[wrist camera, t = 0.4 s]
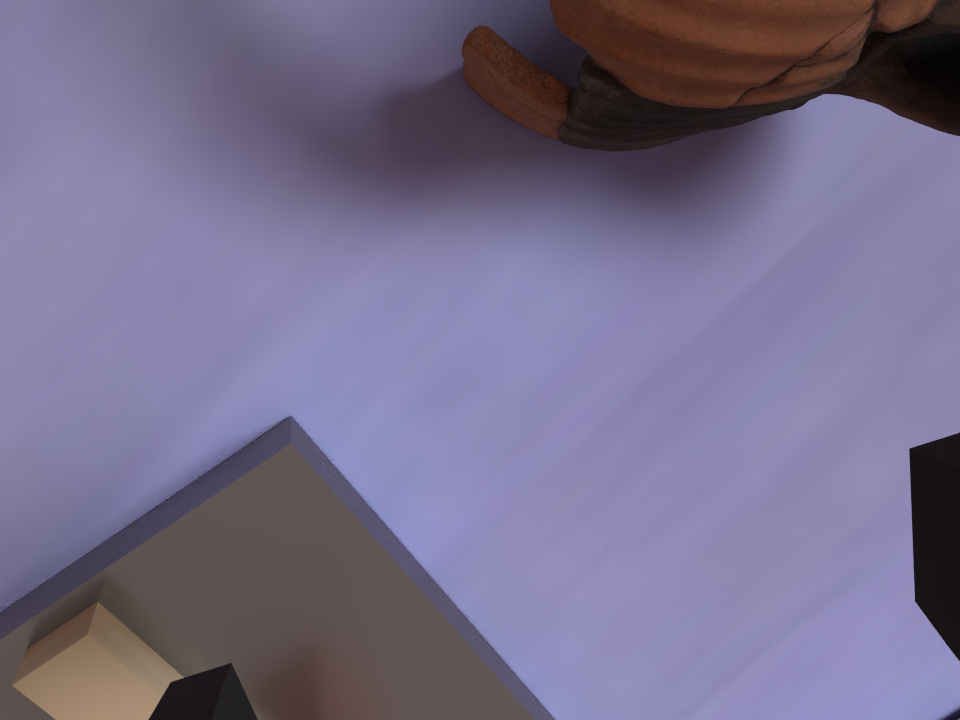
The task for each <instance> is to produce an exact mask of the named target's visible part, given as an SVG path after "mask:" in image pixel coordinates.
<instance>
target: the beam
mask: <svg viewBox="0 0 960 720" xmlns="http://www.w3.org/2000/svg"><path fill="white" fill-rule="evenodd" d="M182 678H184V677H183V676H182V675H181V674H180V673H178V672H177V671H176V670H175V669H174V668H173V667H172V666H170V665H169V664H168V663H167V662H166V661H165V660H164V659H162V658H161V657H160V656H159V655H158V654H157V653H156V652H155V651H153V650H152V649H151V648H150V647H149V646H148V645H147V644H145V643H144V642H143V641H142V640H141V639H140V638H139V637H138V636H136V635H135V634H134V633H133V632H132V631H131V630H130V629H128V628H127V627H126V626H125V625H124V624H123V623H122V622H120V621H119V620H118V619H117V618H116V617H115V616H114V615H113V614H111V613H110V612H109V611H108V610H107V609H106V608H105V607H103V606H102V605H101V604H100V603H99V602H96V603H95V604H93V605H92V606H91V607H89V608H88V609H86V610H85V611H83V612H82V613H80V614H79V615H77V616H76V617H74V618H73V619H71V620H70V621H68V622H67V623H65V624H64V625H62V626H61V627H59V628H58V629H56V630H55V631H53V632H52V633H50V634H49V635H47V636H46V637H44V638H43V639H41V640H40V641H38V642H37V643H35V644H34V645H33V646H31V647H30V648H28V649H27V650H26V651H25V654H24V656H23V659H22V661H21V664H20V666H19V669H18V671H17V674H16V676H15V679H14V681H13V684H12V686H13V687H15V688H16V689H17V690H18V691H20V692H21V693H22V694H24V695H25V696H26V697H27V698H29V699H30V700H31V701H33V702H34V703H35V704H36V705H38V706H39V707H40V708H42V709H43V710H44V711H45V712H47V713H48V714H49V715H51V716H52V717H53V718H54V719H56V720H149V718H150V716H151V714H152V713H153V711H154V709H155V708H156V706H157V704H158V703H159V701H160V699H161V698H162V696H163V694H164V693H165V691H166V689H167V687H168V686H169V684H170V682H172V681H175V680H179V679H182Z"/></svg>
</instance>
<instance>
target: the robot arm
mask: <svg viewBox="0 0 960 720" xmlns="http://www.w3.org/2000/svg"><path fill="white" fill-rule="evenodd" d="M909 450H910V477H911V503H912V529H913V556H914V582H915V602H916V603H917V604H918V606H919V607H920V609H921V610H922V611H923V613H924V614H925V615H926V617H927V618H928V619H929V621H930V622H931V624H932V625H933V626H934V628H935V629H936V630H937V632H938V633H939V634H940V636H941V637H942V639H943V640H944V641H945V643H946V644H947V645H948V647H949V648H950V649H951V651H952V652H953V653H954V654H955V656H956V657H957V658H958V660H959V661H960V433H958V434H955V435H951V436H948V437H945V438H942V439H939V440H936V441H932V442H929V443H926V444H923V445H920V446H917V447H913V448H910V449H909ZM149 720H258V719H257V717H256V715H255V712H254V710H253V708H252V706H251V704H250V702H249V699H248V697H247V695H246V693H245V691H244V689H243V687H242V684H241V682H240V680H239V678H238V676H237V674H236V672H235V669H234V667H233V665H232V663H229V664H226V665H223V666H220V667H217V668H213V669H210V670H207V671H204V672H201V673H198V674H194V675H191V676H188V677H185V678H182V679H179V680H175V681H172V682H170V684H169V686H168V687H167V689H166V691H165V693H164V694H163V696H162V698H161V699H160V701H159V703H158V704H157V706H156V708H155V709H154V711H153V713H152V714H151V716H150V718H149ZM957 720H960V718H959V719H957Z"/></svg>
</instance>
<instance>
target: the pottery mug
mask: <svg viewBox="0 0 960 720" xmlns="http://www.w3.org/2000/svg"><path fill="white" fill-rule="evenodd" d="M550 8H551V11H552V13H553V16H554V21H555V24H556V26H557V28H558V29H559V31H561V32H562V33H563V34H564V35H565V36H566V37H568V38H569V39H570V40H572V41H573V42H574V43H576V44H577V45H578V46H579V47H581V48H583V49H584V50H586V51H587V52H588V55H587V57H586V58H585V60H584V61H583V63H582V65H581V67H580V70H579V83H578V87H576V88H571V87H569V86H567V85H566V84H564V83H562V82H561V81H560V80H558V79H556V78H555V77H553V76H552V75H550V74H548V73H546V72H545V71H543V70H542V69H540V68H539V67H538V66H536V65H535V64H533V63H532V62H530V61H529V60H527V59H526V58H525V57H524V56H522V55H521V54H520V53H519V52H518V51H517V50H515V49H514V48H513V47H511V46H510V45H509V44H508V43H507V42H506V41H504V40H503V39H502V38H501V37H500V36H498V35H497V34H496V33H495V32H494V31H493V30H491V29H490V28H488V27H486V26H479V27H476V28H474V29H473V30H472V31H471V32H470V33H469V35H468V36H467V38H466V39H465V41H464V43H463V47H462V56H463V58H464V64H463V65H464V69H463V73H464V77H465V79H466V81H467V83H468V84H469V86H470V87H471V88H472V89H473V90H474V91H476V92H477V93H478V94H479V95H480V96H481V97H482V98H483V99H484V100H485V101H486V102H488V103H489V104H490V105H491V106H492V107H494V108H495V109H497V110H498V111H499V112H501V113H502V114H504V115H505V116H507V117H509V118H510V119H512V120H513V121H515V122H516V123H518V124H520V125H522V126H524V127H526V128H528V129H531V130H533V131H535V132H537V133H540V134H542V135H544V136H546V137H549V138H554V139H557V140H559V141H561V142H563V143H564V144H568V145H572V146H576V147H581V148H586V149H595V150H605V151H630V150H638V149H647V148H652V147H656V146H660V145H664V144H668V143H671V142H673V141H676V140H679V139H682V138H685V137H687V136H690V135H694V134H698V133H701V132H705V131H709V130H715V129H721V128H726V127H732V126H735V125H739V124H743V123H746V122H749V121H752V120H754V119H757V118H759V117H762V116H768V115H772V114H775V113H779V112H782V111H785V110H793V109H796V108H799V107H801V106H803V105H804V104H805V103H806V102H807V101H809V100H811V99H814V98H816V97H818V96H820V95H822V94H840V95H846V96H851V97H854V98H857V99H863V100H866V101H868V102H872V103H876V104H879V105H881V106H883V107H885V108H887V109H889V110H891V111H892V112H894V113H896V114H897V115H899V116H902V117H905V118H907V119H910V120H913V121H915V122H917V123H920V124H922V125H925V126H928V127H931V128H933V129H936V130H938V131H942V132H945V133H948V134H952V135H957V136H960V0H550Z"/></svg>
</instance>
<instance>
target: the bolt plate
mask: <svg viewBox="0 0 960 720" xmlns="http://www.w3.org/2000/svg"><path fill="white" fill-rule="evenodd" d="M96 602H99V603H100V604H101V605H102V606H103V607H105V608H106V609H107V610H108V611H109V612H110V613H111V614H113V615H114V616H115V617H116V618H117V619H118V620H119V621H120V622H122V623H123V624H124V625H125V626H126V627H127V628H128V629H130V630H131V631H132V632H133V633H134V634H135V635H136V636H138V637H139V638H140V639H141V640H142V641H143V642H144V643H145V644H147V645H148V646H149V647H150V648H151V649H152V650H153V651H155V652H156V653H157V654H158V655H159V656H160V657H161V658H162V659H164V660H165V661H166V662H167V663H168V664H169V665H170V666H172V667H173V668H174V669H175V670H176V671H177V672H178V673H180V674H181V675H182V676H183V677H184V678H185V677H188V676H191V675H194V674H198V673H201V672H204V671H207V670H210V669H213V668H217V667H220V666H223V665H226V664H229V663H232V665H233V667H234V669H235V672H236V674H237V676H238V678H239V680H240V682H241V684H242V687H243V689H244V691H245V693H246V695H247V697H248V699H249V702H250V704H251V706H252V708H253V710H254V712H255V715H256V717H257V719H258V720H555V719H554V718H553V717H552V716H551V715H550V713H549V712H548V711H547V710H546V709H545V708H544V707H543V705H542V704H541V703H540V702H539V701H538V700H537V698H536V697H535V696H534V695H533V694H532V693H531V692H530V690H529V689H528V688H527V687H526V686H525V685H524V684H523V682H522V681H521V680H520V679H519V678H518V677H517V675H516V674H515V673H514V672H513V671H512V670H511V669H510V667H509V666H508V665H507V664H506V663H505V662H504V661H503V659H502V658H501V657H500V656H499V655H498V654H497V652H496V651H495V650H494V649H493V648H492V647H491V646H490V644H489V643H488V642H487V641H486V640H485V639H484V637H483V636H482V635H481V634H480V633H479V632H478V631H477V629H476V628H475V627H474V626H473V625H472V624H471V623H470V621H469V620H468V619H467V618H466V617H465V616H464V614H463V613H462V612H461V611H460V610H459V609H458V608H457V606H456V605H455V604H454V603H453V602H452V601H451V599H450V598H449V597H448V596H447V595H446V594H445V593H444V591H443V590H442V589H441V588H440V587H439V586H438V585H437V583H436V582H435V581H434V580H433V579H432V578H431V576H430V575H429V574H428V573H427V572H426V571H425V570H424V568H423V567H422V566H421V565H420V564H419V563H418V561H417V560H416V559H415V558H414V557H413V556H412V555H411V553H410V552H409V551H408V550H407V549H406V548H405V547H404V545H403V544H402V543H401V542H400V541H399V540H398V538H397V537H396V536H395V535H394V534H393V533H392V532H391V530H390V529H389V528H388V527H387V526H386V525H385V523H384V522H383V521H382V520H381V519H380V518H379V517H378V515H377V514H376V513H375V512H374V511H373V510H372V509H371V507H370V506H369V505H368V504H367V503H366V502H365V500H364V499H363V498H362V497H361V496H360V495H359V494H358V492H357V491H356V490H355V489H354V488H353V487H352V486H351V484H350V483H349V482H348V481H347V480H346V479H345V477H344V476H343V475H342V474H341V473H340V472H339V471H338V469H337V468H336V467H335V466H334V465H333V464H332V462H331V461H330V460H329V459H328V458H327V457H326V456H325V454H324V453H323V452H322V451H321V450H320V449H319V448H318V446H317V445H316V444H315V443H314V442H313V441H312V439H311V438H310V437H309V436H308V435H307V434H306V433H305V431H304V430H303V429H302V428H301V427H300V426H299V424H298V423H297V422H296V421H295V420H294V419H293V418H292V416H290V417H289V418H287V419H286V420H284V421H283V422H281V423H280V424H278V425H277V426H275V427H274V428H272V429H271V430H270V431H268V432H267V433H265V434H264V435H262V436H261V437H259V438H258V439H256V440H255V441H253V442H252V443H250V444H249V445H247V446H246V447H244V448H243V449H241V450H240V451H239V452H237V453H236V454H234V455H233V456H231V457H230V458H228V459H227V460H225V461H224V462H222V463H221V464H219V465H218V466H216V467H215V468H213V469H212V470H211V471H209V472H208V473H206V474H205V475H203V476H202V477H200V478H199V479H197V480H196V481H194V482H193V483H191V484H190V485H188V486H187V487H185V488H184V489H182V490H181V491H180V492H178V493H177V494H175V495H174V496H172V497H171V498H169V499H168V500H166V501H165V502H163V503H162V504H160V505H159V506H157V507H156V508H154V509H153V510H151V511H150V512H149V513H147V514H146V515H144V516H143V517H141V518H140V519H138V520H137V521H135V522H134V523H132V524H131V525H129V526H128V527H126V528H125V529H123V530H122V531H120V532H119V533H118V534H116V535H115V536H113V537H112V538H110V539H109V540H107V541H106V542H104V543H103V544H101V545H100V546H98V547H97V548H95V549H94V550H92V551H91V552H90V553H88V554H87V555H85V556H84V557H82V558H81V559H79V560H78V561H76V562H75V563H73V564H72V565H70V566H69V567H67V568H66V569H64V570H63V571H61V572H60V573H59V574H57V575H56V576H54V577H53V578H51V579H50V580H48V581H47V582H45V583H44V584H42V585H41V586H39V587H38V588H36V589H35V590H33V591H32V592H30V593H29V594H28V595H26V596H25V597H23V598H22V599H20V600H19V601H17V602H16V603H14V604H13V605H11V606H10V607H8V608H7V609H5V610H4V611H2V612H1V613H0V720H56V719H54V718H53V717H52V716H51V715H49V714H48V713H47V712H45V711H44V710H43V709H42V708H40V707H39V706H38V705H36V704H35V703H34V702H33V701H31V700H30V699H29V698H27V697H26V696H25V695H24V694H22V693H21V692H20V691H18V690H17V689H16V688H15V687H13V686H12V684H13V681H14V679H15V676H16V674H17V671H18V669H19V666H20V664H21V661H22V659H23V656H24V654H25V651H26V650H27V649H28V648H30V647H31V646H33V645H34V644H35V643H37V642H38V641H40V640H41V639H43V638H44V637H46V636H47V635H49V634H50V633H52V632H53V631H55V630H56V629H58V628H59V627H61V626H62V625H64V624H65V623H67V622H68V621H70V620H71V619H73V618H74V617H76V616H77V615H79V614H80V613H82V612H83V611H85V610H86V609H88V608H89V607H91V606H92V605H93V604H95V603H96Z"/></svg>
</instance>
